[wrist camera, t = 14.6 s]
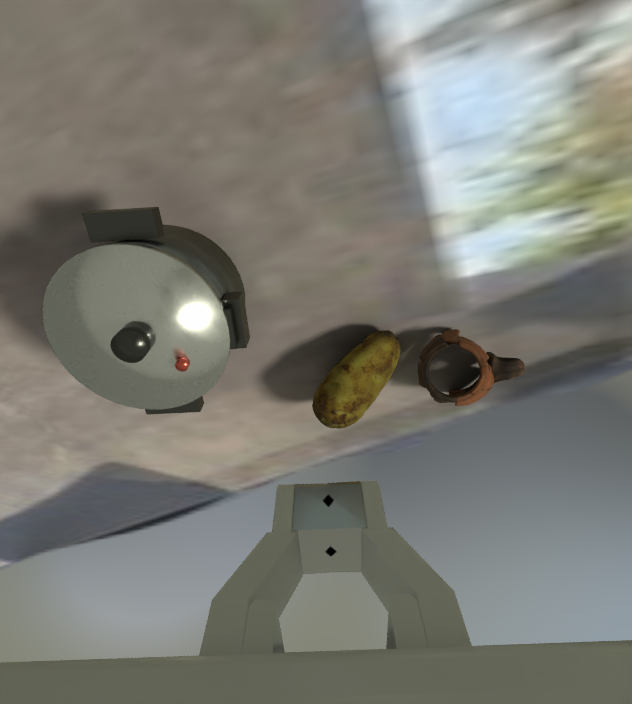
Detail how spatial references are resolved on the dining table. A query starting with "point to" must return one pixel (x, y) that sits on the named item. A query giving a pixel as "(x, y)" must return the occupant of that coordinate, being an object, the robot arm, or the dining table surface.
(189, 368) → the lid
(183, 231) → the pot
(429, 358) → the pottery mug
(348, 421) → the potato
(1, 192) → the dining table surface
